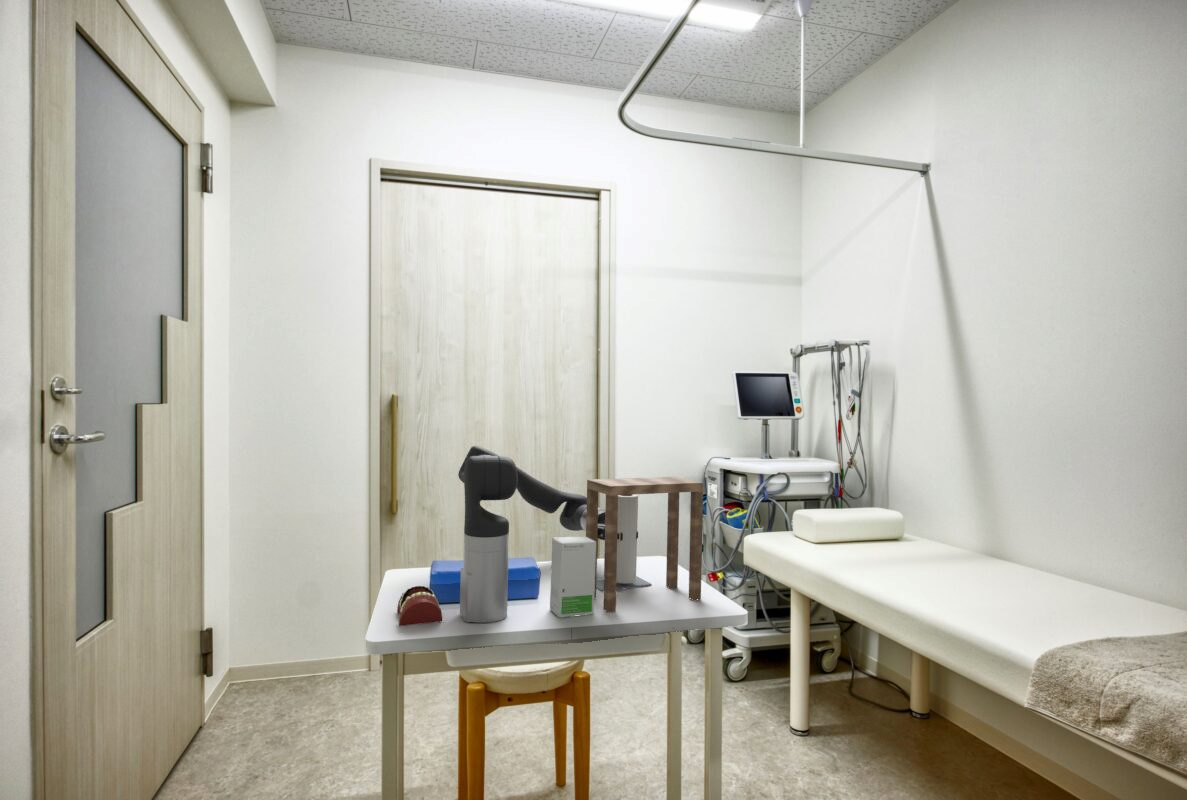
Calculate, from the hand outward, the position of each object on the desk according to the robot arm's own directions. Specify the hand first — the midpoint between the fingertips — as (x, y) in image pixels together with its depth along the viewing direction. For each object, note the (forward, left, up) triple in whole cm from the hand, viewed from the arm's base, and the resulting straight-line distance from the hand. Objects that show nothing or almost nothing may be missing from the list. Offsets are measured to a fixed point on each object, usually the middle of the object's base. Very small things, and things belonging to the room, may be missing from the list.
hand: (629, 536), depth 154 cm
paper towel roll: (0, +3, -12) cm, 12 cm away
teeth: (-50, -2, -13) cm, 52 cm away
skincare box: (-19, -11, -13) cm, 26 cm away
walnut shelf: (0, -8, -13) cm, 15 cm away
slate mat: (0, +4, -13) cm, 13 cm away
